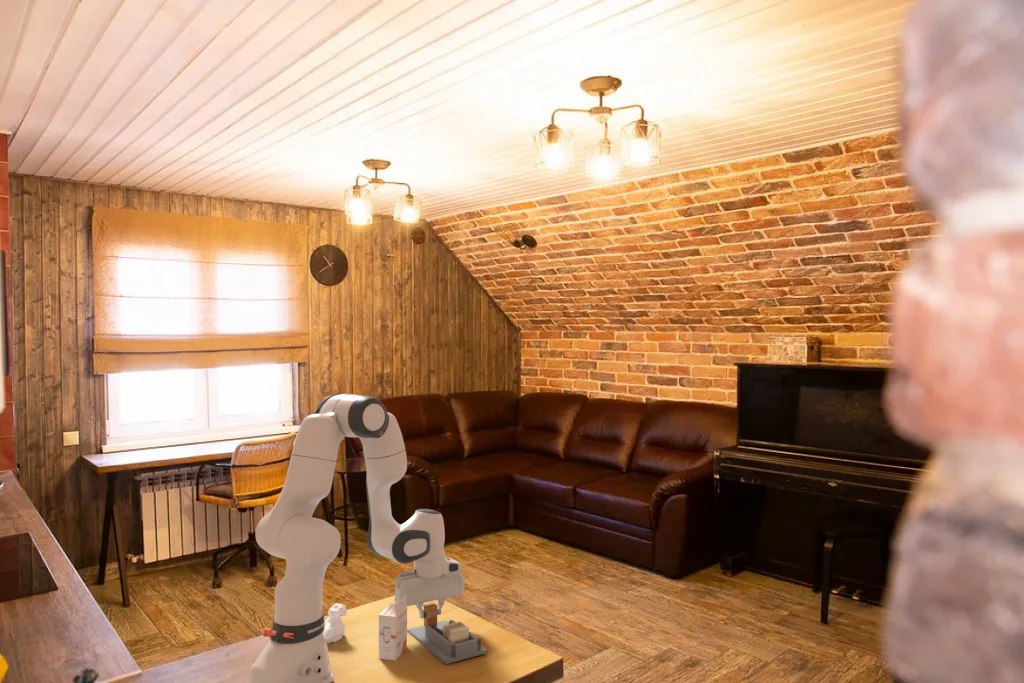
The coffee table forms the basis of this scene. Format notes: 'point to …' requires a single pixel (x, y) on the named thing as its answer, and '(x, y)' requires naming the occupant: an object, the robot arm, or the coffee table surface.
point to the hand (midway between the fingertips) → (430, 615)
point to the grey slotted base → (447, 643)
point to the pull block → (446, 626)
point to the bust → (334, 623)
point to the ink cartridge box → (393, 630)
